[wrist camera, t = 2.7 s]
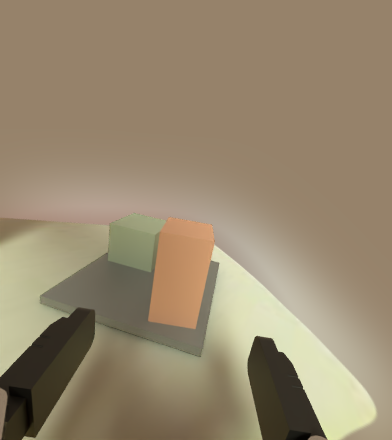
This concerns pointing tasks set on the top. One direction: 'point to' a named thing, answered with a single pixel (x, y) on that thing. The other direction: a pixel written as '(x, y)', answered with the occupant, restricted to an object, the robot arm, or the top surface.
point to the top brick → (180, 272)
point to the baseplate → (128, 302)
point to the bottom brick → (135, 241)
